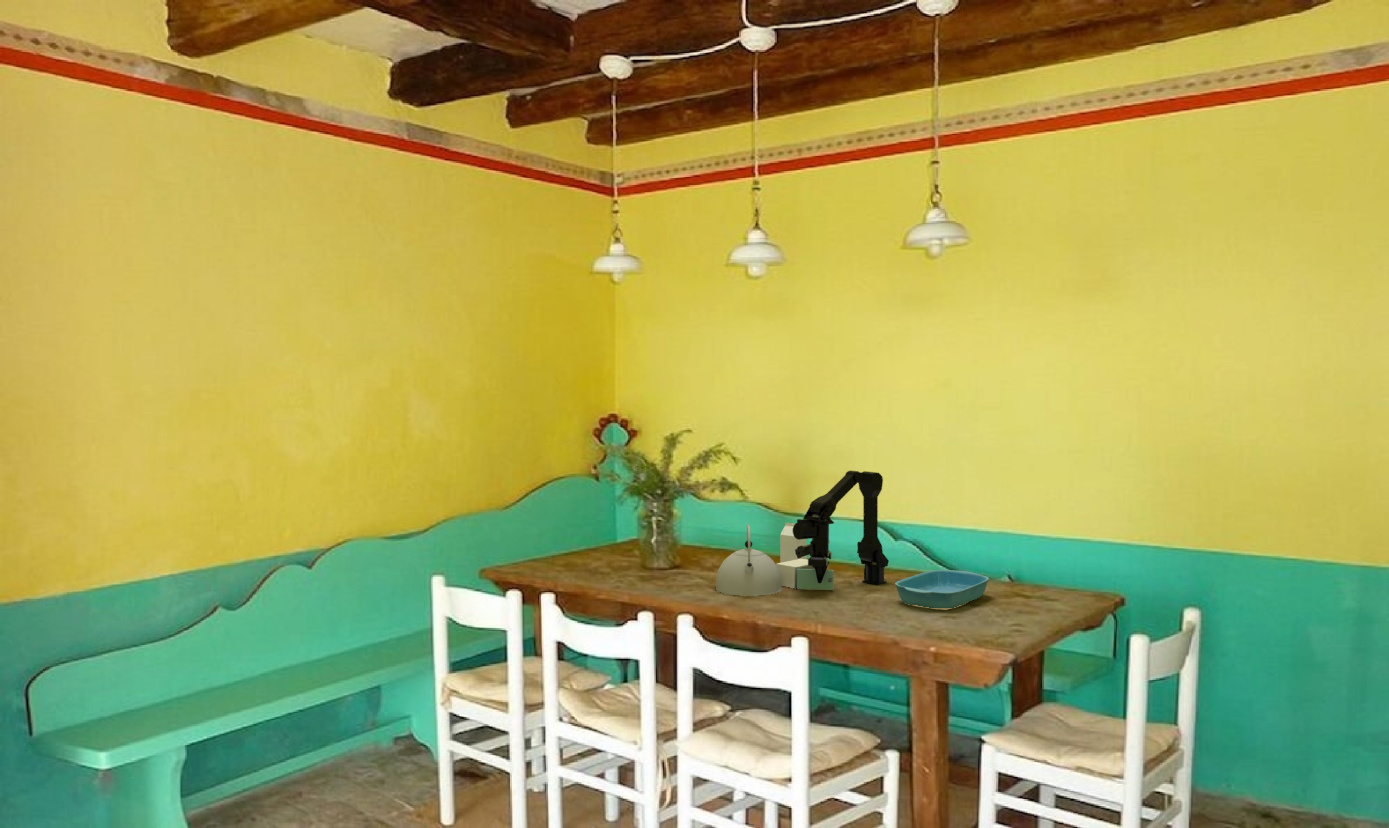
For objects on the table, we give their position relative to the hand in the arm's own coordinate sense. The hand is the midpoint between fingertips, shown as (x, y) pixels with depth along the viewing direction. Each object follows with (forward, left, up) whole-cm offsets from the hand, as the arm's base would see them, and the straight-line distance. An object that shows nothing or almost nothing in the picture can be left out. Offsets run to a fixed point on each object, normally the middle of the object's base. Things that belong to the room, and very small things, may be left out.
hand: (819, 583), depth 340 cm
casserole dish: (-36, -19, -4) cm, 41 cm away
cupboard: (+14, -5, -3) cm, 15 cm away
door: (+3, -1, -3) cm, 4 cm away
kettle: (+20, +14, -4) cm, 25 cm away
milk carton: (+26, -17, -3) cm, 32 cm away
